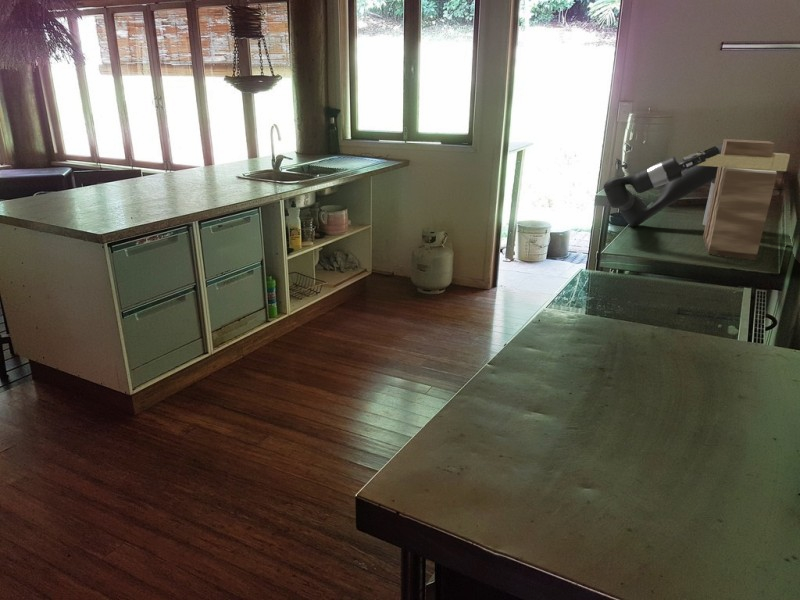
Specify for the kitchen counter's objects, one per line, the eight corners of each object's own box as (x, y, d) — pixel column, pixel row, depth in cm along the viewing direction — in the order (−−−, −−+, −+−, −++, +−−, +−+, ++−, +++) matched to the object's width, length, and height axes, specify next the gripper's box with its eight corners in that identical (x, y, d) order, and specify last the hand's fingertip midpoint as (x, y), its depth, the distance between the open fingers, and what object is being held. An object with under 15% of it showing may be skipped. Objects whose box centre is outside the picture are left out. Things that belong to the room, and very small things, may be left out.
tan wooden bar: (693, 163, 193) (696, 148, 192) (782, 169, 184) (786, 153, 182) (694, 165, 189) (697, 149, 187) (785, 171, 180) (790, 155, 178)
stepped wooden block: (702, 237, 215) (723, 138, 203) (744, 242, 210) (769, 141, 198) (708, 254, 193) (732, 144, 180) (755, 260, 188) (783, 147, 175)
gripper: (668, 179, 202) (720, 157, 194) (668, 185, 190) (724, 162, 181) (659, 160, 201) (711, 137, 193) (660, 164, 189) (715, 140, 180)
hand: (717, 149), depth 187 cm, fingers open, 4 cm apart
